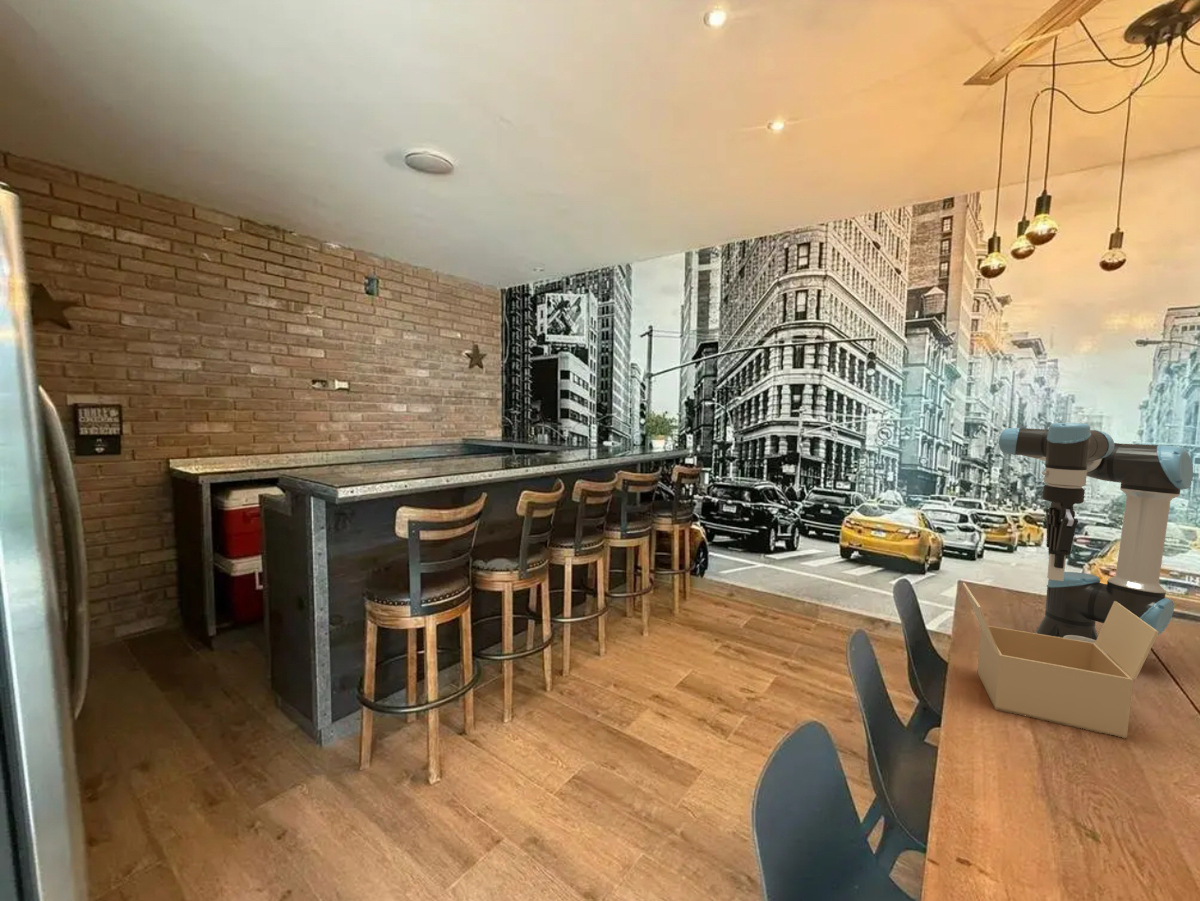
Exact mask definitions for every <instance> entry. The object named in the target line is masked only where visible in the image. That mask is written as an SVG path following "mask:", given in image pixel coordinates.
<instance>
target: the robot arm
mask: <svg viewBox="0 0 1200 901" xmlns="http://www.w3.org/2000/svg"><path fill="white" fill-rule="evenodd" d="M998 447H999V450H1000V451H1001V453H1002V454H1006V455H1013V456H1024V457H1029V458H1032V459H1035V460H1040V461H1044V462H1045V464H1044V465H1045V467H1044V471H1043V470H1042V472H1041V475H1043V476H1044V478H1043V479H1044V480H1043V482H1044V483H1045V484H1044V485H1043V487H1042V488H1043V489H1042V498H1041V499H1043V500H1044V501H1047V502H1050V503H1051V504H1050V506H1049V507H1048V508H1046V510H1045V514H1046V516H1045V517H1046V548H1048V554H1049V555H1048V556H1049V557H1048V568H1047V577H1046V578H1047V584H1046V600H1045V610H1044V611H1045V612H1044V617H1043V618H1042V620H1041V622H1040V624H1039V625H1038V627H1037V629H1036V632H1035V633H1037V634H1043V635H1049V636H1055V637H1061V638H1063V637H1064V636H1066V635H1075V636H1081V637H1086V638H1090V639H1093V640H1096V639H1097V637H1098V635H1099V634H1098V632H1097V629H1096V622H1098V623H1101V624H1104V622H1105V620H1106V618H1107V616H1108V613H1109V611H1110V609H1111V607H1112V605H1113V603H1114V601H1116V602H1118V603H1119V604H1121V605H1122V606H1123V607H1125V608H1126V609H1128V610H1129V611H1130V612H1132V613H1133V614H1135V615H1136V616H1137V617H1139V618H1140V619H1142V620H1143V621H1144V622H1146V623H1147V624H1149V625H1150V626H1151V627H1153V628H1154V629H1155V630H1157V631H1158V632H1159V633H1158V635H1157V637H1158V636H1159V635H1161V634H1162V633H1164V631H1166V628H1167V627H1168V625H1169V624H1170V622H1171V620H1172V618H1173V614H1174V610H1175V607H1174V606H1175V604H1174V601H1173V600H1171V599H1170V598H1167V597H1166V594H1167V593H1166V592H1167V591H1166V590H1165V588H1163V586H1161V584H1160V575H1161V572H1162V571H1161V570H1162V569H1161V568H1162V563H1163V562H1162V561H1163V556H1164V548H1165V542H1166V535H1167V528H1168V527H1167V526H1168V521H1169V515H1170V514H1169V513H1170V506H1171V501H1172V500H1174V499H1176V498H1178V497H1179V496H1181V495H1180V494H1181V490H1183V491H1184V490H1188V489H1190V487H1191V486H1192V482H1193V479H1194V467H1193V462H1192V458H1191V455H1190V454H1189V452H1188V451H1187V450H1185V449H1184V448H1182V447H1179V446H1171V445H1164V444H1158V445H1157V444H1139V443H1119V442H1118V443H1117V442H1114V439H1113V438H1112V436H1111V435H1110V434H1108V433H1107V432H1105V431H1101V430H1097V429H1093V430H1092V429H1091V426H1090V424H1088V423H1082V422H1080V423H1078V422H1053V423H1051V424H1050V425H1049V427H1048V429H1047V428H1046V429H1044V428H1027V427H1026V428H1025V427H1024V428H1022V427H1008V428H1005V429H1003V430H1002V432H1001V433H1000V436H999V439H998ZM1087 477H1089V478H1092V479H1096V480H1101V481H1106V482H1113V483H1120V488H1119V489H1120V491H1122V492H1123V493H1124V494H1125V495H1126V497H1125V498H1126V499H1125V507H1124V513H1123V522H1122V528H1121V535H1120V542H1119V543H1120V544H1119V550H1118V555H1117V563H1116V570H1115V571H1116V573H1115V575H1114V576H1112V577H1110V578H1108V579H1107V582H1106V583H1102V581H1101V578H1100V577H1099V576H1098V575H1094V574H1092V573H1085V572H1075V571H1065V569H1066V557H1067V555H1068V556H1070V555H1071V553H1072V552H1071V551H1072V547H1073V543H1074V537H1075V533H1076V527H1077V525H1078V523H1079V520H1078V518H1077V517H1076V516H1075V515H1076V512H1075V510H1074V505H1076V504H1077V505H1081V504H1083V503H1084V501H1085V488H1083V487H1085V486H1086V485H1087Z"/></svg>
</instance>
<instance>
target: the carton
mask: <svg viewBox="0 0 1200 901" xmlns="http://www.w3.org/2000/svg"><path fill="white" fill-rule="evenodd" d="M988 626H989V629H990V631H991V634H992V636H993V639H994V641H995V644H996V646H997V649H998V651H999V654H997V653H996V652H995V650H994V648H993V647H992V645H991V643H990V642H989V640H988V638H987V637H986V635H985V633H984V632H983V630H982V628H981V627H980V630H979V631H980V632H979V645H978V646H979V647H978V655H977V656H978V657H977V658H978V659H977V668H976V669H977V670H976V673H977V675H978V676H979V679H980V681H981V684H982V685H983V687H984V689H985V691H986V694H987V696H988V697H989V700H990V702H991V703H992V706H993V708H994V710H995V711H999V712H1004V713H1009V714H1012V713H1014V714H1013V715H1017V714H1019V715H1018V716H1021V715H1026V716H1030V717H1034V718H1033V719H1035V718H1037V719H1036V720H1039V719H1042V720H1041V721H1044V720H1047V721H1046V722H1048V721H1049V722H1050V723H1052V724H1053V723H1054V724H1058V725H1062V726H1068V727H1071V728H1075V727H1076V729H1080V728H1081V730H1084V729H1086V730H1085V731H1089V730H1090V732H1093V731H1094V733H1098V732H1099V734H1102V733H1105V734H1104V735H1107V734H1110V735H1109V736H1111V735H1115V736H1114V737H1116V736H1118V737H1117V738H1120V737H1122V738H1121V739H1125V738H1126V740H1128V731H1129V723H1130V713H1131V706H1132V704H1131V703H1132V696H1133V687H1134V679H1133V678H1132V677H1131V676H1130V675H1129V674H1128V673H1127V672H1125V671H1124V670H1123V669H1122V668H1121V667H1120V666H1119V665H1118V664H1117V663H1116V662H1115V661H1114V660H1113V659H1112V658H1111V657H1110V656H1109V655H1107V654H1106V653H1105V652H1104V651H1102V650H1101V649H1100V648H1099V647H1098V646H1097V645H1096V644H1095V643H1091V642H1085V641H1079V640H1073V639H1067V638H1061V637H1055V636H1049V635H1043V634H1037V633H1036V632H1029V631H1024V630H1018V629H1017V630H1016V629H1011V628H1005V627H999V626H994V625H988ZM1026 716H1025V717H1026ZM1030 717H1029V718H1030ZM1082 728H1083V729H1082Z"/></svg>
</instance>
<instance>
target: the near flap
mask: <svg viewBox="0 0 1200 901" xmlns="http://www.w3.org/2000/svg"><path fill="white" fill-rule="evenodd" d="M1102 624H1103V625H1102V627H1101V629H1100V631H1099V633H1098V634H1097V635H1098V637H1097V639H1096V642H1095V643H1096V644H1097V645H1098V646H1099V647H1100V648H1101V649H1102V650H1103V651H1104V652H1105V653H1107V654H1108V656H1109V657H1110V658H1111V659H1112V660H1113V661H1114V662H1115V663H1116V664H1117V665H1118V666H1119V667H1120V668H1121V669H1122V670H1123V671H1125V672H1126V673H1127V674H1128V675H1129V676H1130V677H1131V678H1132V679H1133V680H1137V679H1138V676H1139V675H1140V672H1141V670H1142V668H1143V666H1144V664H1145V661H1146V659H1147V657H1148V655H1149V654H1150V651H1151V649H1152V647H1153V645H1154V643H1155V641H1156V639H1157V637H1158V636H1159V635H1158V633H1159V632H1158V631H1157V630H1155V629H1154V628H1153V627H1151V626H1150V625H1149V624H1147V623H1146V622H1144V621H1143V620H1142V619H1140V618H1139V617H1137V616H1136V615H1135V614H1133V613H1132V612H1130V611H1129V610H1128V609H1126V608H1125V607H1123V606H1122V605H1121V604H1119V603H1118V602H1116V601H1114V603H1113V605H1112V607H1111V609H1110V611H1109V613H1108V616H1107V618H1106V620H1105V622H1104V623H1102ZM1157 635H1158V636H1157Z"/></svg>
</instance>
